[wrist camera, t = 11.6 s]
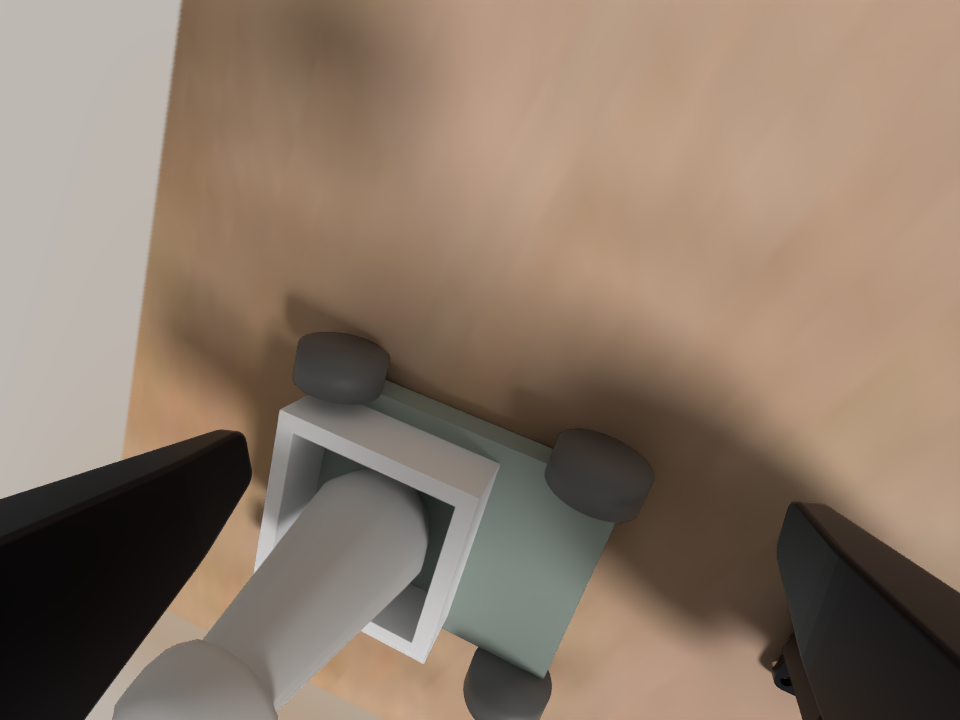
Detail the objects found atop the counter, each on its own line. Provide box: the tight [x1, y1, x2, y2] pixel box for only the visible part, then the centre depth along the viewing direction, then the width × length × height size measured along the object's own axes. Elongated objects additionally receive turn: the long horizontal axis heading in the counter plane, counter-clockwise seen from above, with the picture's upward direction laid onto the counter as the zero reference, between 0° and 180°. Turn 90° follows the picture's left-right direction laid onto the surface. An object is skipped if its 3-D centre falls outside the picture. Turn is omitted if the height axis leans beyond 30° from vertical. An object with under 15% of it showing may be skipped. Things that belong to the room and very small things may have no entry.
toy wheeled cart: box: [254, 332, 654, 720], centre depth 24 cm, size 16×14×4 cm
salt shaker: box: [112, 469, 429, 720], centre depth 19 cm, size 6×6×13 cm
